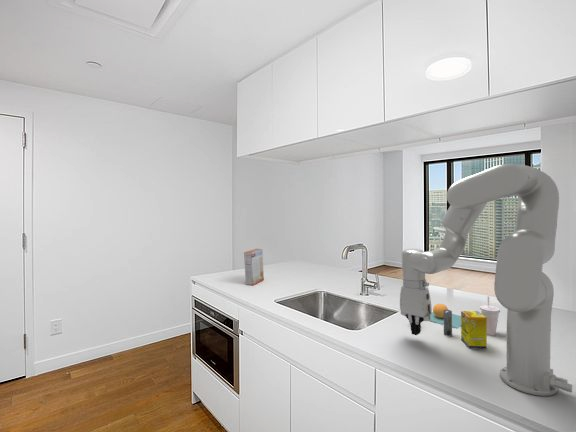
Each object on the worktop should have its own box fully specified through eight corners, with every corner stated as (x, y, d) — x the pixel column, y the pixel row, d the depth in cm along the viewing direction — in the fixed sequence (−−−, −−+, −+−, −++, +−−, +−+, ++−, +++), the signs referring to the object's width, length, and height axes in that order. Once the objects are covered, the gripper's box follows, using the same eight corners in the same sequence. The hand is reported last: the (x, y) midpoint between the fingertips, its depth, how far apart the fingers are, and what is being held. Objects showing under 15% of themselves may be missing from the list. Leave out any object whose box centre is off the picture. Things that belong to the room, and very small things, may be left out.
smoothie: (475, 330, 120) (475, 294, 120) (491, 329, 121) (491, 293, 120) (487, 337, 114) (487, 299, 113) (504, 336, 114) (504, 298, 114)
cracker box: (256, 279, 208) (255, 248, 207) (264, 280, 206) (263, 248, 205) (244, 284, 196) (243, 251, 195) (253, 285, 193) (251, 252, 192)
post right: (453, 334, 117) (453, 310, 117) (450, 336, 115) (450, 312, 115) (445, 332, 119) (445, 309, 119) (442, 334, 117) (442, 311, 117)
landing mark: (470, 318, 131) (470, 318, 131) (457, 328, 122) (457, 327, 122) (436, 310, 142) (436, 310, 142) (422, 318, 133) (422, 318, 133)
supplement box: (460, 340, 112) (460, 310, 111) (478, 340, 111) (478, 310, 111) (468, 348, 106) (468, 316, 106) (487, 348, 106) (487, 317, 105)
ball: (448, 304, 130) (445, 319, 128) (451, 307, 134) (448, 321, 133) (433, 300, 134) (430, 314, 132) (436, 303, 138) (433, 316, 137)
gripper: (439, 284, 109) (441, 336, 110) (400, 278, 120) (401, 325, 121) (430, 289, 104) (432, 343, 105) (389, 282, 115) (391, 331, 116)
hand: (415, 333), depth 113 cm, fingers closed
